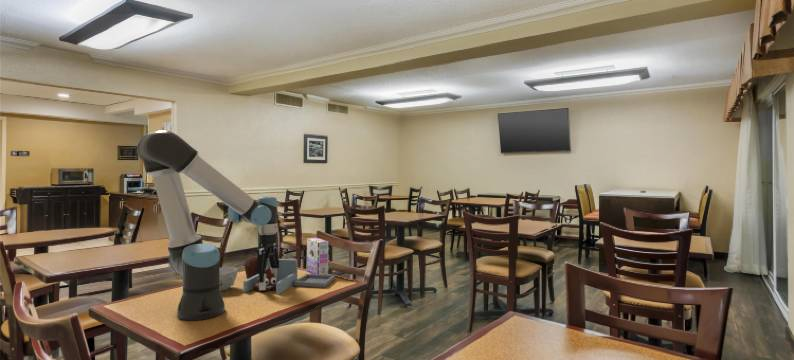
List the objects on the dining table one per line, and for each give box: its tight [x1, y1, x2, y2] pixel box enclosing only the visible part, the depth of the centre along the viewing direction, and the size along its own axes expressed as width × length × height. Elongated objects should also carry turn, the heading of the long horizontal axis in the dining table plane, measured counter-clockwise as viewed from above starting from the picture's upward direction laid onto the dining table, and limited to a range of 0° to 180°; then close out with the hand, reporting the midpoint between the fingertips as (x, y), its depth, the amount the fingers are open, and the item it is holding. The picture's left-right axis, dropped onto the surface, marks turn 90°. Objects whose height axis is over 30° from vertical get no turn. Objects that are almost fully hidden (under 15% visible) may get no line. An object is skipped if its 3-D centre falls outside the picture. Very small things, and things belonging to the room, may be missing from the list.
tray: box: [293, 273, 336, 289], centre depth 188 cm, size 14×14×2 cm
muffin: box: [243, 254, 258, 280], centre depth 197 cm, size 12×11×10 cm
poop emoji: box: [254, 267, 277, 292], centre depth 178 cm, size 10×8×9 cm
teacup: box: [219, 266, 238, 292], centre depth 177 cm, size 15×12×8 cm
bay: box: [243, 258, 298, 295], centre depth 182 cm, size 19×15×10 cm
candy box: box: [306, 237, 330, 275], centre depth 206 cm, size 14×6×16 cm, turn 34°
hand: (268, 286), depth 178 cm, fingers closed on poop emoji, 9 cm apart
